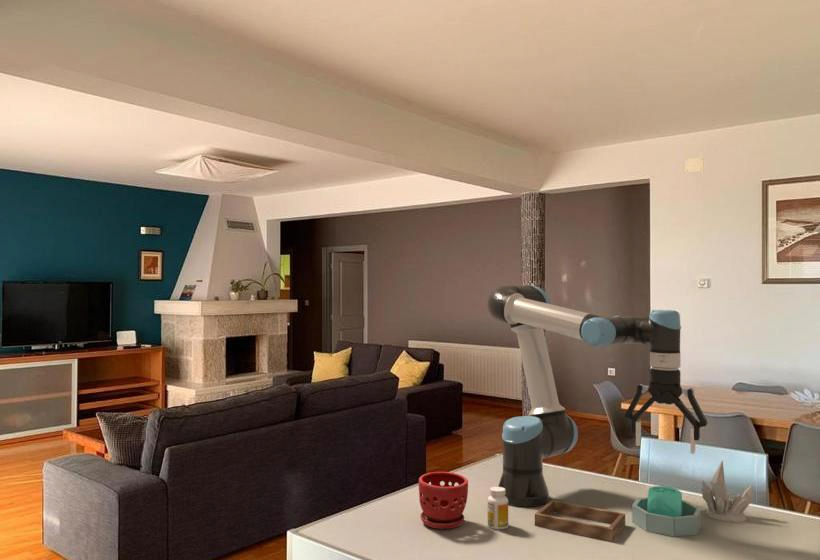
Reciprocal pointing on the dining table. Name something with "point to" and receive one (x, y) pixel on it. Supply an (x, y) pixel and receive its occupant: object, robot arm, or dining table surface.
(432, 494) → the plant pot
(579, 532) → the rectangular frame
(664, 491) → the decorative dice
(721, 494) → the crystal
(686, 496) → the dining table surface
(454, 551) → the dining table surface
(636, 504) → the bowl
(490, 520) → the supplement bottle
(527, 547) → the dining table surface
